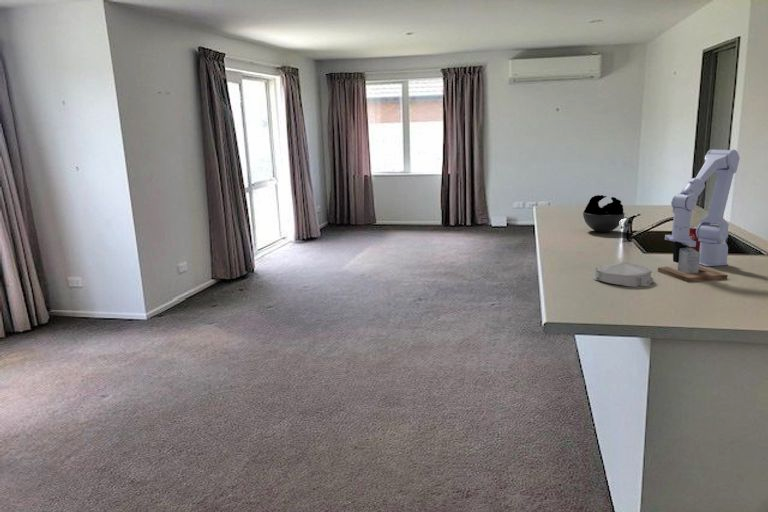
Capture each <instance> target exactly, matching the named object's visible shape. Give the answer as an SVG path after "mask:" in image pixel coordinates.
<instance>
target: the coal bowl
mask: <svg viewBox="0 0 768 512" xmlns="http://www.w3.org/2000/svg"><path fill="white" fill-rule="evenodd" d="M607 197H608V196H607V195H603V194H602V195H600V194H597V195H594V196H592V197H591V198H590V199H589V201H588V202H587V205H586V206H585V209H584V210H583V211H582V217H583V219H584V222H585V223H586V225H587V227H589V228H590V229H591V230H593V231H595V232H598V231H599V233H607V232H611V231H613V230H615V229H617V228H618V227H619V226H620V225H619V221H620V220H621V219H623V220H624V219H625V214H626V213H625V212H624V206H623V204H622V201H621V200H620V199H618V198H616V197H614V196H612V197H610V199H611V201H612V202H608V203H607V204H605V205H603V206H600V205H599V202H600V201H602V200H603V199H604V198H605V199H606V198H607Z"/></svg>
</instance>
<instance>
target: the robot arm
mask: <svg viewBox="0 0 768 512" xmlns="http://www.w3.org/2000/svg"><path fill="white" fill-rule="evenodd" d="M738 152H739V151H737V150H736V149H713V148H712V149H709V150H708V151H707V153H706V154H705V156H704V164H703V165H702V167H701V168H700V170H699V171H698V173H697V175H696V176H695V177H693V178H691V179H690V180H688V182H687V183H686V185H685V186H684V187H683V189H682V190H681V191H680V192H679V193H677V194H674V196H673V197H672V199H671V202H670V203H671V207H672V213H673V221H672V228H671V229H672V231H671V234H664V240H665V241H671V242H672V243H670V246H671V249H672V261H673V262H674V263H676V264H678V261H679V251H680V248H687V246H689V247H696V241H693V240H691V239H689V231H690V226H691V222H692V221H691V220H692V211H693V210H694V209H695V208H696V206H697V203H698V200H699V198H698V197H699V196H700V195H701V193H703V191H704V189H705V188H706V184H705V183H706V182H707V180H708V179H710V177H711V176H712V175H713V174H714V173H715V174H716V175H717V176H716V180H715V184H714V189H713V192H712V196H711V200H710V204H709V209H708V212H707V215H706V216H705V217H703V218H701V219H700V220H699V224H698V225H697V226H698V227H697V229H696V235H697V237H698V238H699V241H700V251H699V253H700V261H699V265H701V266H703V267H704V266H705V267H717V266H719V267H720V266H728V265H729V263H728V253H729V251H728V250H729V246H728V244H727V242H726V240H727V238H729V225H730V223H728V221H727V220H725V218H724V215H725V211H726V207H727V202H728V198H729V194H730V191H731V186H732V184H733V183H732V182H733V178H734V174H736V173H737V170H738V166H739V162H740V159H741V158H740V155H739V153H738Z"/></svg>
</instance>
